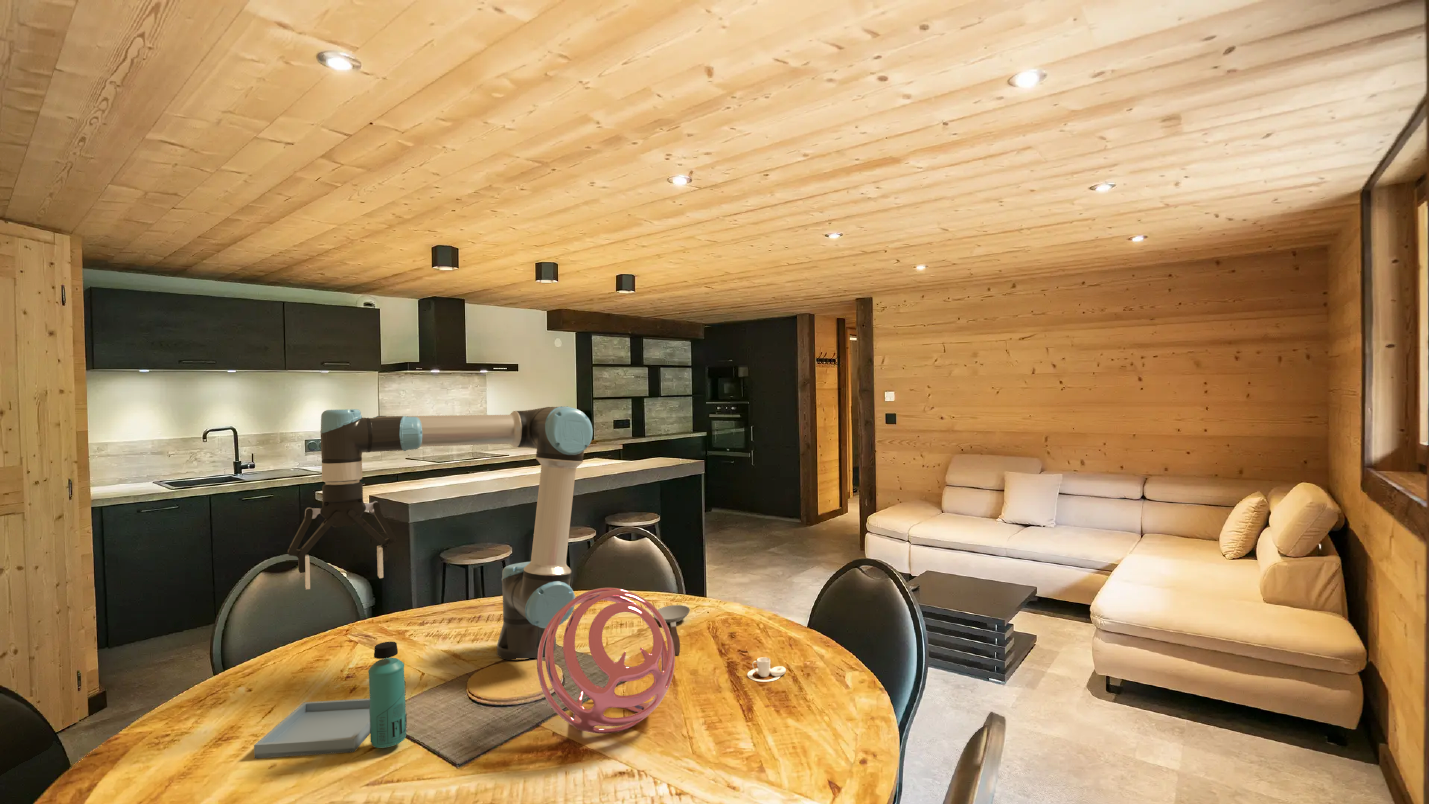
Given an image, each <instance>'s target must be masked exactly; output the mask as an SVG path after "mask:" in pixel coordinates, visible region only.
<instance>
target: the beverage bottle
mask: <svg viewBox="0 0 1429 804" xmlns="http://www.w3.org/2000/svg"><path fill="white" fill-rule="evenodd" d="M398 653H399V650H398V644H397V642H395V641H393V640H392V641H390V640H389V641H383V642H379V643H378V644H376V645H375V646H374V651H373V658H374V659H377V661H375V662H374V663H373V664H372V665H371V666H370V668H369V669H368V672H367V673H368V689H369V690H368V691H369V699H370V704H369V705H370V707H369V710H370V713H369V714H370V724H369V725H370V726H369V727H370V728H369V730H370V732H371V733H370V734H369V739H370V740H369V741H370V743H371V746H372V747H374V748H376V749H377V748H378V749H381V748H382V749H383V748H389V747H393V746H396V745H399V744H400V743H402V742H403V741H404V740H405V739H406V738H407V737H406V736H407V729H408V723H407V722H408V721H407V710H406V709H407V707H406V706H407V704H406V694H407V693H406V692H407V691H406V690H407V689H406V681H405V680H406V679H405V663H404V662H403V661H402V660H400V659H399V658H397V657H395V656H396V655H398ZM378 659H379V660H378Z"/></svg>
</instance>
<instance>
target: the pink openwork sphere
mask: <svg viewBox="0 0 1429 804" xmlns="http://www.w3.org/2000/svg"><path fill="white" fill-rule="evenodd" d="M630 599H632V600H630ZM633 600H634V601H637V602H639V603H640V604H642V605H643V606H644V607H646V608H647V609H648V610H649V611H650V612H649V611H648V610H646V609H645V608H643V607H642V606H640V605H639V604H637V603H636V602H634V601H633ZM600 601H608V602H613V603H611V604H609V605H607V606H605V607H604V608H602V609H601V610H600V611H599V612H598V613H597V614H596V616H595V617H594V618H593V621H592V622H591V624H590V627H589V631H588V647H589V648H588V649H589V651H590V654H591V657H592V659H593V661H594V663H595V664H596V665H597V668H599V670H601V672H603V673H604V674H605V675H607V677H608V681H607V683H606V685H605V686H603V687H602V686H601V685H597V684H595V683H593V682H592V681H591V680H590V679H589V678H588V676H587V675H586V674H585V672H584V671H583V669H582V666H581V665H580V663H579V660H578V657H577V652H576V634H577V629H578V626H579V623H580V622H581V619H582V618H583V616H584V614H585V613H586V612H587V611H588V610H589V609H590V608H591V607H592V606H593V605H595V604H597V603H598V602H600ZM577 605H578V606H577ZM573 606H574V607H575V606H577V607H576V608H575V609H574V610H573V612H572V614H571V615H570V617H569V618H568V622H567V623H566V626H565V630H564V635H563V641H562V642H563V643H562V644H563V645H562V650H563V651H562V652H563V659H564V662H565V663H564V664H565V666H566V669H567V672H568V673H569V676H570V678H571V679H572V681H573V682H574V685H576V686H577V688H578V689H579V690H580V692H579V694H578V697H577V700H576V701H575V699H574V698H573V697H572V696H571V695H570V693H568V692H567V690H566V688H565V687H564V686H563V683H562V682H561V680H560V677H559V673H558V670H557V667H556V663H555V656H554V655H555V652H554V651H555V650H554V640H555V637H556V634H557V631H558V629H559V626H560V625H559V624H560V622H561V620H562V618H563V617H564V615H565V614H566V613H567V611H568V610H569V609H570V608H571V607H573ZM621 613H631V614H635V615H636V616H639V617H640V618H641V619H642V620H643V621H644V623H645V624H646V625H647V626H648V628H649V629H650V631H651V633H652V640H653V643H652V644H653V645H652V649H651V652H650V653H648V652H647V651H646V650H645V649H644V648H643V647H640V648H639V650H640V653H641V654H642V656H643V659H644V661H643V662H642V663H639V664H638V665H635V666H626V665H625V660H626V654H627V651H624V652H623V653H622V655H621V656H620V658H619V660H618V661H617V662H615V661H614V660H613V659H611V657H610V656H609V654H607V652H606V649H605V646H604V645H603V644H604V643H603V631H604V628H605V626H606V624H607V622H608V621H609V620H610V619H611V618H612V617H614V616H615V615H618V614H621ZM650 613H652V614H650ZM653 614H654V615H655V617H656V618H657V619H658V620H657V619H656V618H655V617H654V616H653ZM656 620H657V621H658V622H657V621H656ZM658 623H659V624H660V626H661V627H662V629H663V631H664V634H665V638H666V639H665V638H664V636H663V634H662V632H661V629H660V626H659V624H658ZM670 630H671V629H670V628H669V625H668V623H666V621H665V620H664V618H663V616H662V615H661V614H660V612H659V611H658V608H656V607H655V606H654V604H652V603H651V602H650V601H648V600H647V599H645V598H644V597H643V596H640V595H639V594H636V593H634V592H632V591H629V590H626V589H622V588H619V587H618V588H617V587H600V588H595V589H590V590H588V591H585V592H583V593H581V594H579V595H577V596H575V598H574V599H572V600H571V601H570V602H569V603H567V604H566V605H565V606H564V607H562V608H561V609H560V610H559V611H558V612H557V613H556V614H555V615H554V616H553V618H552V619H551V620H550V622H549V623H548V625H547V627H546V628H545V630H544V632H543V635H542V637H541V640H540V644H539V648H538V654H537V658H536V670H537V677H538V681H539V685H540V688H541V690H542V693H543V695H544V697H545V699H546V701H547V703H548V705H550V707H551V708H552V710H553V711H554V712H555V713H556V714H557V715H558V716H559V717H560V719H562V720H564V722H566V723H567V724H569V725H570V726H572V727H573V728H575V729H576V730H578V731H581V732H586V733H590V734H591V733H592V734H599V735H604V734H605V735H607V734H609V735H610V734H615V733H620V732H623V731H626V730H628V729H629V730H630V729H631V728H633V727H635V726H637V725H638V724H640V723H641V722H642V721H643V720H645V719H646V718H648V716H650V714H652V713H653V712H654V711H655V709H656V708H657V707H658V706H660V704H661V702H662V701H663V699H664V698H665V696H666V694H667V692H668V690H669V688H670V686H671V683H672V680H673V677H674V673H675V663H676V655H675V651H674V644H673V640H672V636H671V631H670ZM548 632H549V633H548ZM547 634H548V636H547ZM546 637H547V641H546V648H545V656H544V657H545V658H544V662H545V668H546V673H547V677H548V680H549V682H550V684H551V687H552V689H553V691H554V692H555V694H556V696H557V698H558V699H559V700H560V702H562V704H563V705H564V706H565V707H566V708H567V709H568V710H569V711H570V712H571V713H573V715H572V717H571V716H570V715H569V714H568V713H566V712H565V711H564V710H563V709H562V708H561V706H559V705H558V703H557V701H555V699H554V697H553V696H552V694H551V692H550V690H549V688H548V686H547V683H546V679H545V674H544V669H543V656H542V654H543V647H544V643H545V640H546ZM665 641H666V642H665ZM660 661H661V670H660V668H659V662H660ZM650 674H652V677H653V678H654V679H653V683H652V685H650V686H649V687H648V688H646V689H644V690H643V691H641V692H638V693H634V694H629V695H619V694H616V693H615V691H616V687H617V684H618V683H620V682H633V681H638V680H641V679H643V678H645V677H646V676H649V675H650ZM584 694H585V696H587V697H588V698H589V699H590V700H591V701H592V703H593V706H592V707H591V708H586V707H584V706H583V699H584V698H583V697H584ZM652 698H653V699H652ZM650 699H652V700H651V701H649V700H650ZM647 701H649V702H647ZM611 708H613V709H615V708H617V709H625V710H628V711H631V712H634V714H631V715H628V716H622V717H610V716H607V715H606V716H605V714H604V713H605V711H606V710H608V709H611ZM598 726H599V727H598ZM600 726H601V727H609V728H600ZM610 727H611V728H610Z"/></svg>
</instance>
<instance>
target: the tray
mask: <svg viewBox="0 0 1429 804" xmlns="http://www.w3.org/2000/svg"><path fill="white" fill-rule="evenodd" d="M369 704H370V698H357V699H356V698H355V699H341V700H340V699H338V700H336V699H335V700H322V701H321V700H320V701H305V702H302V703H301V704H300V705H299V706H298V707H296V708H295V709H294V710H293V711H292V712H290V714H289V715H287V716H286V717H285V718H284V719H283V720H281V722H279V723H278V724H277V725H276V726H274V727H273V728H272V729H271V730H270V731H269V732H267V733H266V734H265V735H264V736H263V737H262V738H261V739H259V740H258V741H257V742H255V744H254V745H253V749H254V751H253V755H254V756H253V757H254V759H264V758H265V759H266V758H281V757H282V758H283V757H297V756H298V757H299V756H312V755H313V756H314V755H327V754H329V755H330V754H344V753H346V754H347V753H355V752H356V751H357V749H358V748H359V747H360V746H361V745H362V744H363V742H364V741H365V740H366V739H367V738H368V736H370V733H371V732H370V730H369V728H370V727H369V726H370V725H369V724H370V714H369V713H370V710H369V707H370V705H369Z"/></svg>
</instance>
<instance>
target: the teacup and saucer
mask: <svg viewBox="0 0 1429 804" xmlns="http://www.w3.org/2000/svg"><path fill="white" fill-rule="evenodd" d="M755 663H756V665H757V667H756V668H755V666H754V664H755ZM751 665H752V668H753V669H751V670H749V671H748V672H747V678H749V679H750V680H752V681H755V682H759V683H771V682H775V681H777V680H779V679H780V678H781V677H782V676H783V675H785V674H786V671H787V669H786V667H784V666H783V665H781V666H780V665H778V666H774V667H772V668H771V659H770V657H766V656H764V657H762V656H761V657H758V658H757V659H756V660H753V662H752V664H751ZM754 673H757V675H758V676H759V677H762V678H767V677H769V675H771V676H773V678H771V679H770V678H769V679H758V678H755V677H754V676H753V674H754Z"/></svg>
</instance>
